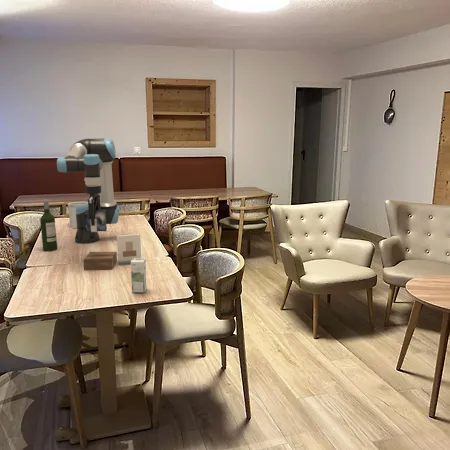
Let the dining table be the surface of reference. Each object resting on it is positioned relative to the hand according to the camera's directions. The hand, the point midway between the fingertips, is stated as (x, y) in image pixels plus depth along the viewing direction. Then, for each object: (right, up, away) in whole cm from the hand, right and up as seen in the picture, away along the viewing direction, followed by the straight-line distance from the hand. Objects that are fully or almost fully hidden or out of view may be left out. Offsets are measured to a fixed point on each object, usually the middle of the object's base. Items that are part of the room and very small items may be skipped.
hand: (96, 229), depth 226 cm
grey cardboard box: (+15, -18, +9) cm, 25 cm away
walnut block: (+1, -19, +4) cm, 20 cm away
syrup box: (+28, -27, -31) cm, 50 cm away
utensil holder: (-40, +1, +96) cm, 104 cm away
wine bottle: (-37, -12, +35) cm, 52 cm away
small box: (0, -1, 0) cm, 1 cm away
